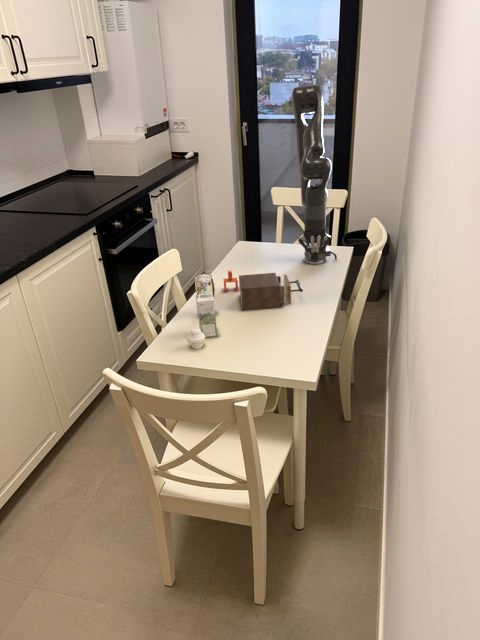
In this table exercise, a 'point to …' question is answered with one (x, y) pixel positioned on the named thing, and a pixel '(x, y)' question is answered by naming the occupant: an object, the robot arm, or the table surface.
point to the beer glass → (205, 285)
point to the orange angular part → (230, 280)
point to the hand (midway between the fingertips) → (314, 261)
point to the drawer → (287, 288)
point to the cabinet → (259, 291)
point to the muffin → (196, 338)
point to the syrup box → (206, 314)
